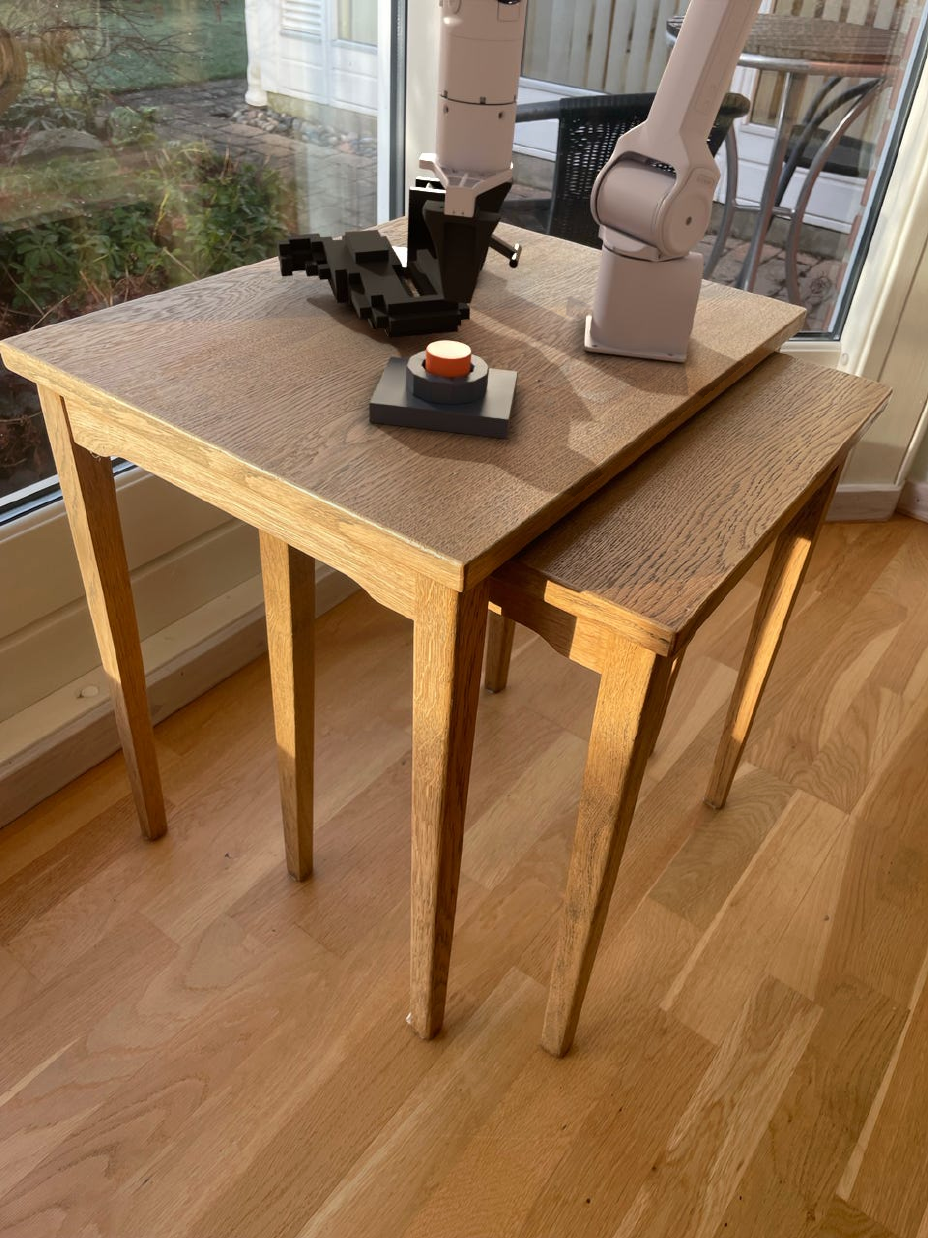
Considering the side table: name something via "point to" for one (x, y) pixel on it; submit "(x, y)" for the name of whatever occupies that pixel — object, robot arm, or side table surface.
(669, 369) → the side table surface
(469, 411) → the button box
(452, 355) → the button
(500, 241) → the switch lever
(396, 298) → the tool
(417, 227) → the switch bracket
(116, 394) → the side table surface
